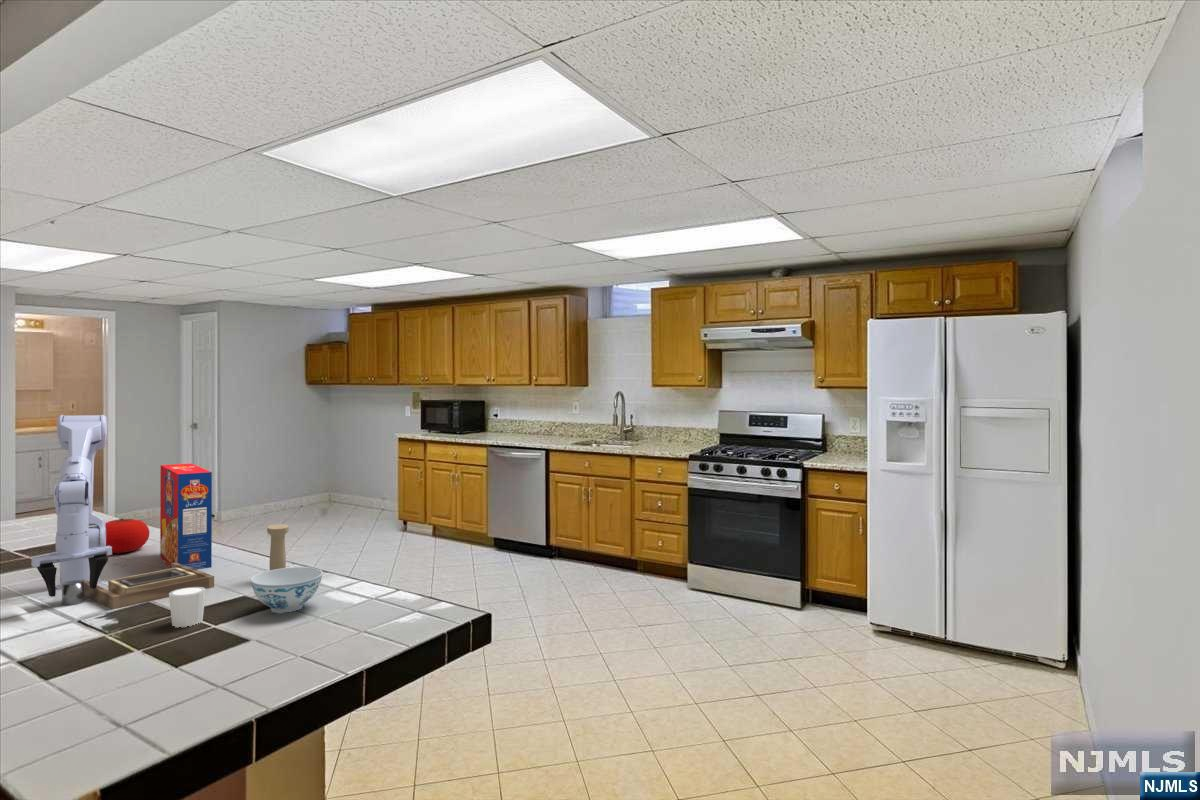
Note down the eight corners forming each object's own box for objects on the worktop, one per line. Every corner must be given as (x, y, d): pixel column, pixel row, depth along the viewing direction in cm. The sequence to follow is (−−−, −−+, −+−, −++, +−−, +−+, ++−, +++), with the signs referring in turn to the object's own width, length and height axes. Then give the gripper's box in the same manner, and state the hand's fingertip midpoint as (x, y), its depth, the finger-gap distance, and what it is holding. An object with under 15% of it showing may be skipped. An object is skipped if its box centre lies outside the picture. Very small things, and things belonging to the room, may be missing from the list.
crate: (108, 594, 158) (108, 580, 158) (177, 580, 170) (177, 567, 170) (126, 603, 151) (126, 588, 151) (196, 588, 164) (196, 574, 164)
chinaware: (336, 603, 157) (336, 571, 157) (282, 623, 143) (282, 588, 143) (291, 595, 163) (291, 564, 163) (235, 613, 149) (235, 579, 149)
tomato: (115, 546, 211) (115, 514, 211) (157, 546, 213) (157, 514, 213) (85, 558, 197) (85, 523, 197) (131, 557, 199) (131, 522, 198)
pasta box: (160, 557, 199) (160, 465, 198) (191, 553, 204) (191, 463, 204) (177, 577, 178) (178, 474, 178) (211, 572, 183) (211, 472, 183)
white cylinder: (213, 619, 145) (213, 588, 145) (184, 630, 139) (184, 597, 139) (190, 616, 147) (190, 584, 147) (160, 626, 141) (160, 593, 141)
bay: (78, 596, 160) (78, 580, 160) (175, 577, 178) (175, 562, 178) (113, 614, 148) (113, 597, 148) (214, 592, 165) (214, 576, 165)
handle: (269, 588, 169) (269, 529, 168) (265, 582, 174) (265, 525, 174) (289, 585, 171) (290, 527, 171) (285, 579, 177) (285, 523, 176)
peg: (59, 609, 151) (59, 583, 151) (80, 604, 155) (80, 579, 154) (65, 612, 149) (65, 586, 149) (86, 607, 152) (86, 582, 152)
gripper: (38, 540, 143) (38, 602, 143) (116, 529, 155) (116, 587, 155) (28, 536, 147) (28, 596, 148) (105, 526, 159) (105, 582, 159)
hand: (73, 591), depth 152 cm, fingers open, 7 cm apart
